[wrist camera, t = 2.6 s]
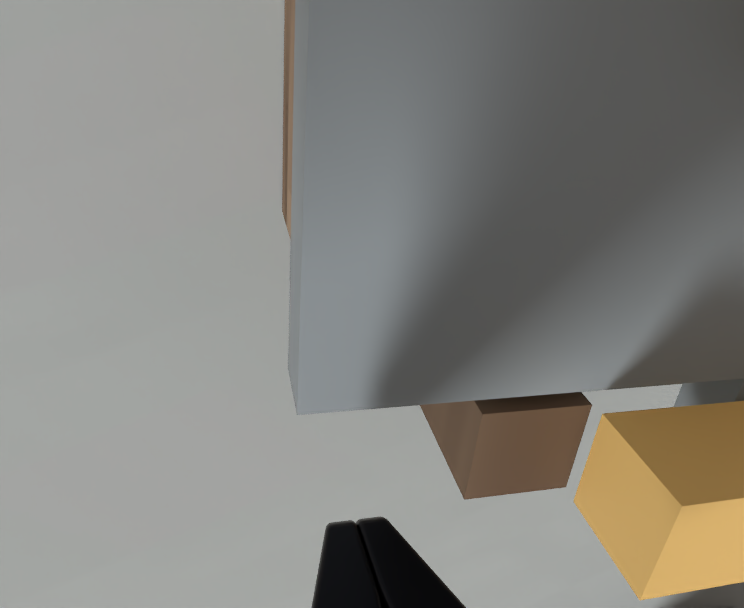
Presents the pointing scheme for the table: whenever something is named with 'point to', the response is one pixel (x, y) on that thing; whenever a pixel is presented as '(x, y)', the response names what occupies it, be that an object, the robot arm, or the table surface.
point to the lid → (516, 200)
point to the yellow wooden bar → (669, 496)
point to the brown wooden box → (479, 417)
